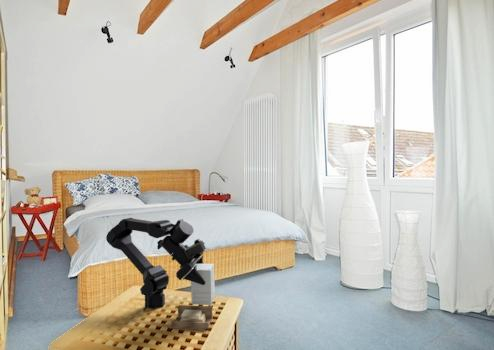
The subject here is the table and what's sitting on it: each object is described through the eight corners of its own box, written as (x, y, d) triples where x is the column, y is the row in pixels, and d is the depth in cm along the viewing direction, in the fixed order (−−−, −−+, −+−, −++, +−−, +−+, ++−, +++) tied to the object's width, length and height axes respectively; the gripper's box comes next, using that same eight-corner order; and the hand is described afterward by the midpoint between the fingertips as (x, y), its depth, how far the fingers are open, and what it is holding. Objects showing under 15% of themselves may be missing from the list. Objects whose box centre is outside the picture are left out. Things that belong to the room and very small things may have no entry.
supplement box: (215, 296, 124) (214, 263, 123) (211, 305, 117) (210, 270, 116) (196, 295, 125) (195, 262, 124) (190, 304, 117) (190, 269, 117)
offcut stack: (179, 326, 110) (178, 315, 110) (182, 319, 115) (182, 309, 115) (202, 326, 110) (202, 316, 110) (205, 320, 114) (205, 309, 114)
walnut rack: (172, 330, 109) (171, 316, 109) (179, 319, 117) (178, 305, 117) (207, 332, 108) (207, 317, 108) (212, 320, 116) (212, 306, 116)
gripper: (184, 240, 110) (217, 274, 110) (197, 228, 129) (226, 257, 129) (162, 263, 111) (195, 296, 111) (178, 248, 130) (206, 276, 130)
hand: (206, 280), depth 120 cm, fingers closed on supplement box, 7 cm apart
